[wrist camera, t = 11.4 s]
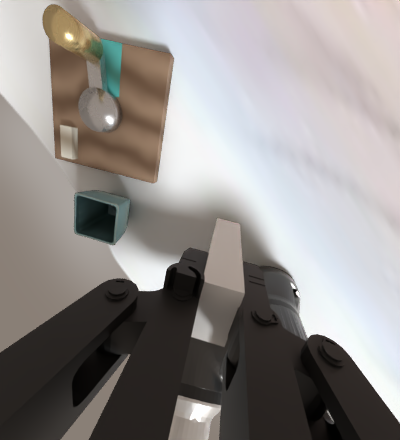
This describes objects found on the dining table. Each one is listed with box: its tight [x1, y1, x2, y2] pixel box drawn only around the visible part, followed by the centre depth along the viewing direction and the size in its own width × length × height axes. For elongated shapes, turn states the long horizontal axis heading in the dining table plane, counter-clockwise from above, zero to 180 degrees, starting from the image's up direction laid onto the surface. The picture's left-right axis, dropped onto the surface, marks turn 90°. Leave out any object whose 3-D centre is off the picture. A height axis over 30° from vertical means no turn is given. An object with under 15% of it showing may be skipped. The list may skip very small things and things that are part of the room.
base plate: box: [49, 39, 174, 183], centre depth 38 cm, size 22×22×4 cm
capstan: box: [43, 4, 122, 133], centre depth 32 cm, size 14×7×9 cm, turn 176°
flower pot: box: [74, 190, 130, 245], centre depth 43 cm, size 9×9×9 cm
